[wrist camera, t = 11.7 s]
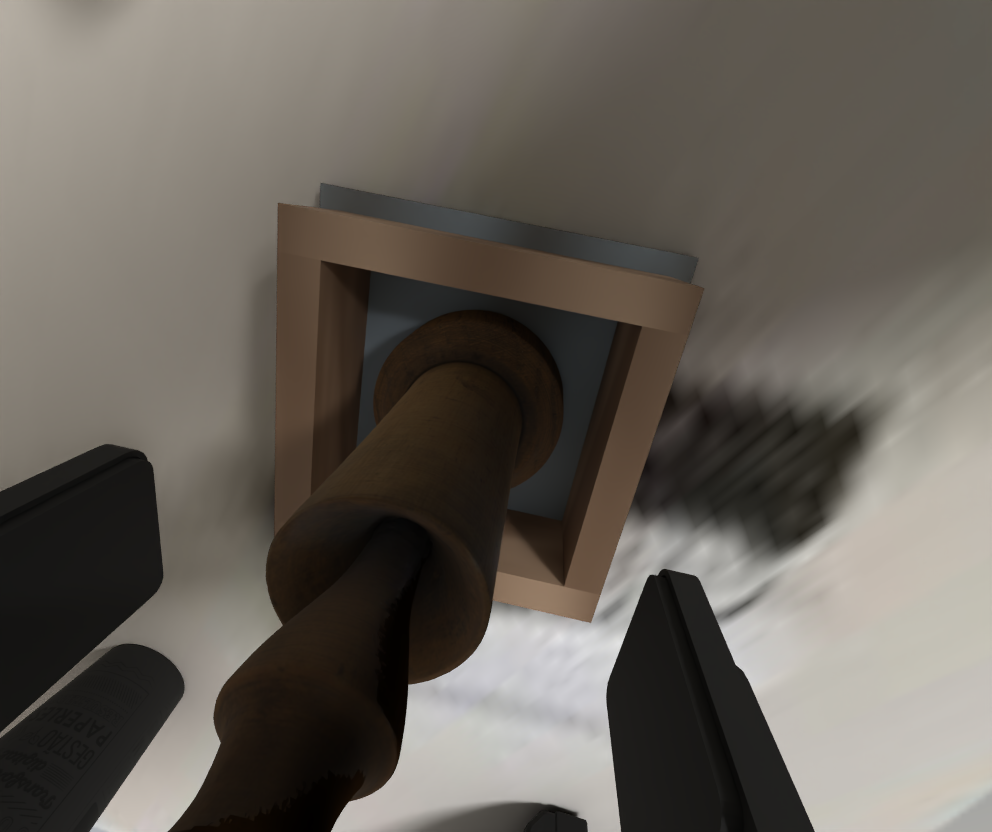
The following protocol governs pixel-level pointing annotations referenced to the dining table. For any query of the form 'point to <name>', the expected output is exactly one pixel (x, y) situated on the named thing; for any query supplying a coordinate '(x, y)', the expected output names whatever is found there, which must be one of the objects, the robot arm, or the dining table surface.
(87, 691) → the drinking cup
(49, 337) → the dining table surface
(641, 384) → the socket
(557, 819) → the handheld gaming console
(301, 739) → the wooden chess pawn
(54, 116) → the dining table surface
